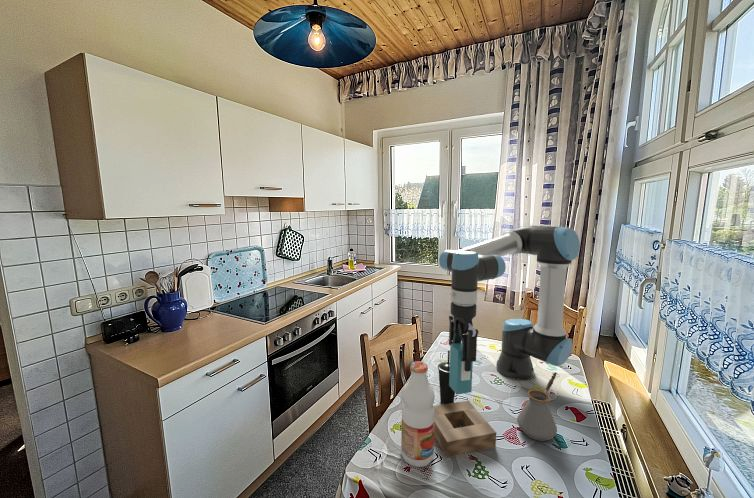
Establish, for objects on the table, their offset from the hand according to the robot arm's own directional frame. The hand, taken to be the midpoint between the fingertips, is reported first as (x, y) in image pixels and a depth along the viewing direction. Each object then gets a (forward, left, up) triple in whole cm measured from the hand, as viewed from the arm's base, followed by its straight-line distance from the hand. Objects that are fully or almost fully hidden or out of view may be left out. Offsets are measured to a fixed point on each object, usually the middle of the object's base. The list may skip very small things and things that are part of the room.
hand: (460, 374), depth 96 cm
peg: (0, 0, -5) cm, 5 cm away
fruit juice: (+16, +5, -20) cm, 26 cm away
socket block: (0, 0, -20) cm, 20 cm away
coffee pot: (-29, +3, -20) cm, 36 cm away
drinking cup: (-4, -16, -20) cm, 26 cm away
